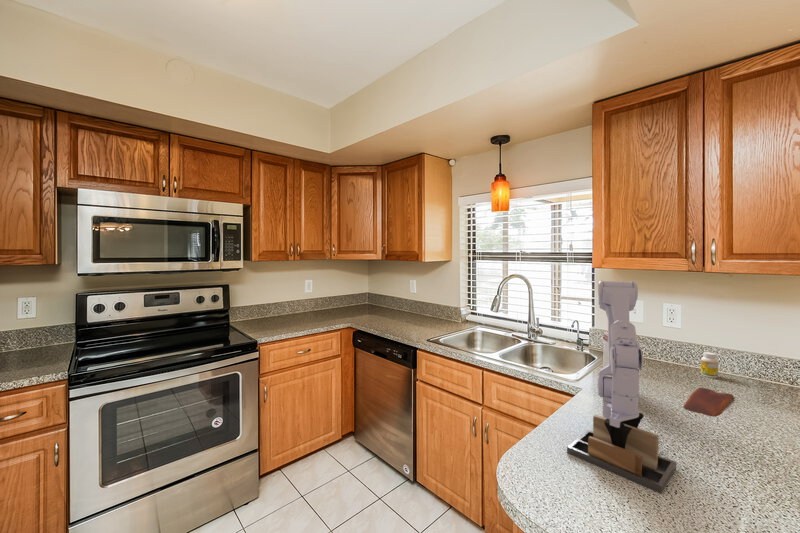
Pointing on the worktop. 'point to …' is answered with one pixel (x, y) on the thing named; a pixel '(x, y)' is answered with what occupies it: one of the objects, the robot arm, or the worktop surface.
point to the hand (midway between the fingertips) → (623, 445)
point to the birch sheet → (632, 441)
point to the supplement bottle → (709, 365)
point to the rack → (649, 475)
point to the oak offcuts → (615, 455)
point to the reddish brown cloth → (708, 402)
